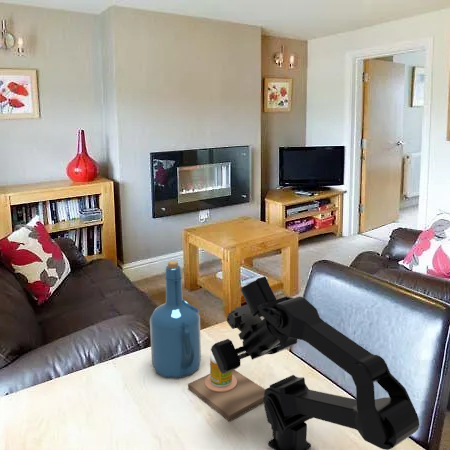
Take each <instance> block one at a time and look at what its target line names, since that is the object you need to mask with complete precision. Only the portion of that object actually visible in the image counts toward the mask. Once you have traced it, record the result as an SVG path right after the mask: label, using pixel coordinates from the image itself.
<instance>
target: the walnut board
mask: <svg viewBox="0 0 450 450" xmlns="http://www.w3.org/2000/svg"><path fill="white" fill-rule="evenodd" d="M209 375H210V373H208V374H206V375H204V376H202V377H200V378H198V379H195V380H193V381H191V382H189V383H187V389H188V390H189V392H191V393H193V395H195V396H197V398H199V399H200V400H202V401H203V402H204V403H205V404H207V405H208V406H209V407H210V408H211V409H213V410H214V411H216V412H217V414H219V415H221V416H222V417H223V418H225V420H227V421H229V422H231V421H232V420H234V419H236V418H238V417H240V416H241V415H244V414H245V413H247V412H249V411H251V410H252V409H254V408H256V407H258V406H259V405H262V404H264V403H263V398H264V393H265V389H266V388H264V387H262V386H261V385H259V384H258V383H256V382H254V381H253V380H251V379H250V378H248V377H247V376H246V375H243V374H242V373H241V372H239V371H237V369H235V370H232V375H233V376H235V377H236V379H237V385H236V387H235V388H234V389H232V390H230V391H228V392H214V391H211V390H209V389H208V388H207V387H206V386H205V379H206V378H207V377H208V376H209Z"/></svg>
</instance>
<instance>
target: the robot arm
mask: <svg viewBox="0 0 450 450" xmlns="http://www.w3.org/2000/svg"><path fill="white" fill-rule="evenodd" d="M240 292H241V294H242V296H243V298H244V300H245V303H246V304H244V305H241V306H238V307H235V308H234V309H232V310H231V311H230V312H229V313H228V314H227V318H226V322H227V324H228V325H229V327H230V328H231V329H237V330H238V331H239V333H238V337H239V339H240V340H241V341H242V346H240V347H237V348H236V347H235V346H234V344H233V341H232V340H231V339H229V338H227V339H224V340H220V341H218V342H215V343H213V345H212V346H211V348H210V351H211V354H212V353H213V356H214V358H215V360H216V363H217V365H218V367H219V370H220V372H221V373H223V374H225V373H227V372H230V371H232V370H237V369H238V368H240V367H241V360H243V359H245V358H249V357H250V358H251V360H252V361H253V360H255V359H258V358H260V357H263V356H266V355H274V354H277V353H280V352H282V351H285V350H287V349H288V348H290V347H292V346H294V345H295V344H296V345H297V343H298V340H300V341H304V342H306V343H307V344H309V345H310V347H311V346H312V348H314V349H315V350H317V352H318V353H321V355H323V356H324V357H326V358H327V359H328V360H330V361H331V362H332V363H334V364H335V365H336V366H338V367H339V368H340V369H342V370H344V372H346V373H347V374H348V375H350V376H351V378H352V381H353V383H354V386H355V392H356V393H355V394H356V398H351V397H348V396H347V397H346V396H341V395H337V394H332V393H327V392H323V391H318V390H313V389H309V387H308V386H307V384H306V381H305V377H304V376H303V377H301V376H300V377H298V376H297V375H294V374H292V375H290V376H287V377H286V378H283V379H280V380H278V381H276V382H274V383H271V384H269V387H266V388H264V389H265V393H264V398H263V403H262V404H263V407H264V411H265V415H266V416H265V417H266V420H267V423H268V424H269V425H270V426H271V430H272V439H270V440H269V441H268V442H267V444H268V446H269V447H271V448H272V449H273V450H310V449H311V448H312V443H310V442H308V441H307V435H308V434H307V432H308V431H307V429H308V424H307V423H306V422H307V421H309V420H312V419H313V418H314V419H317V420H320V421H324V422H326V423H327V422H328V423H331V424H334V425H339V426H342V427H346V428H349V429H353V430H356V431H357V432H358V433H359V434H360V437H362V439H363V440H364V441H365V442H367V443H369V444H371V445H374V446H375V447H377V448H380V449H381V450H392V449H393V448H395V447H396V446H397V445H399V444H400V443H402V442H404V441H405V440H406V439H408V438H410V437H411V436H412V435H414V434H415V433H417V431H418V430H419V428H420V419H419V416H418V413H417V411H416V408H415V406H414V404H413V402H412V400H411V398H410V396H409V392H408V391H407V390H406V388H405V386H404V385H402V383H401V382H399V380H398V379H397V378H396V377H394V375H393V374H392V373H391V371H390V369H389V366H388V364H387V362H386V361H385V359H384V358H383V357H382V356H380V355H379V354H374V353H371V352H370V351H369V350H367V349H366V348H364V347H363V346H361V345H360V344H358V343H356V342H355V341H354V340H353V339H351V338H350V337H348V336H346V335H345V334H343V333H342V332H340V331H339V330H338V329H336V328H335V327H333V326H332V325H331V324H328V322H327V321H326V322H325V320H323V319H322V318H321V317H320V314H319V312H318V309H317V307H315V306H314V305H313V304H311V303H310V302H309V301H308V300H307V299H306V298H305V297H303V296H296V297H291V296H288V295H287V296H283V297H280V298H276V296H275V294H274V292H273V290H272V287H271V285H270V283H269V280H268V279H267V277H266V276H261V277H258V278H256V280H253V281H252V282H250V283H248V284H245V285H244V286H242V287H241V289H240ZM261 317H262V318H263V319H262V318H261ZM374 383H377V384H378V385H379V386H380V387H381V388H382V389H383V390H385V392H386V393H387V394H388V397H381V398H375V397H376V396H375V384H374Z"/></svg>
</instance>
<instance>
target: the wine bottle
mask: <svg viewBox="0 0 450 450" xmlns="http://www.w3.org/2000/svg"><path fill="white" fill-rule="evenodd" d="M164 274H165V275H164V276H165V277H164V280H165V303H163V304H160V305H159V306H157V307H156V308H155V309H154V310H153V312H152V314H151V315H150V318H149V331H150V333H149V334H150V350H151V351H150V352H151V353H150V354H151V365H152V367H153V369H154V372H155V373H156V374H157V375H159V376H161V377H164V378H171V379H180V378H185V377H189V376H191V375H193V374H194V373H195V372H196V371H199V368H200V365H201V361H202V351H201V350H202V345H201V315H200V310H199V308H197V307H196V306H193V305H191V304H190V303H189V302H188V301H186V300H185V299H183V284H182V279H183V276H182V269H181V266H180V265H179V263H178V261H176V260H170V261H168V262H167V266H166V267H165V273H164Z"/></svg>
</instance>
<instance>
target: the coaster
mask: <svg viewBox="0 0 450 450" xmlns="http://www.w3.org/2000/svg"><path fill="white" fill-rule="evenodd" d="M236 385H237V379H236V377H235V376H233V375H232V382H231V384H230V385H228V386H226V387H217V386H214V385H213V384H212V383H211V380H210V375H209V376H208V377H207V378H206V379H205V386H206V387H207V388H208V389H209V390H211V391H214V392H228V391H230V390H232V389H234V388H235V387H236Z"/></svg>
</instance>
